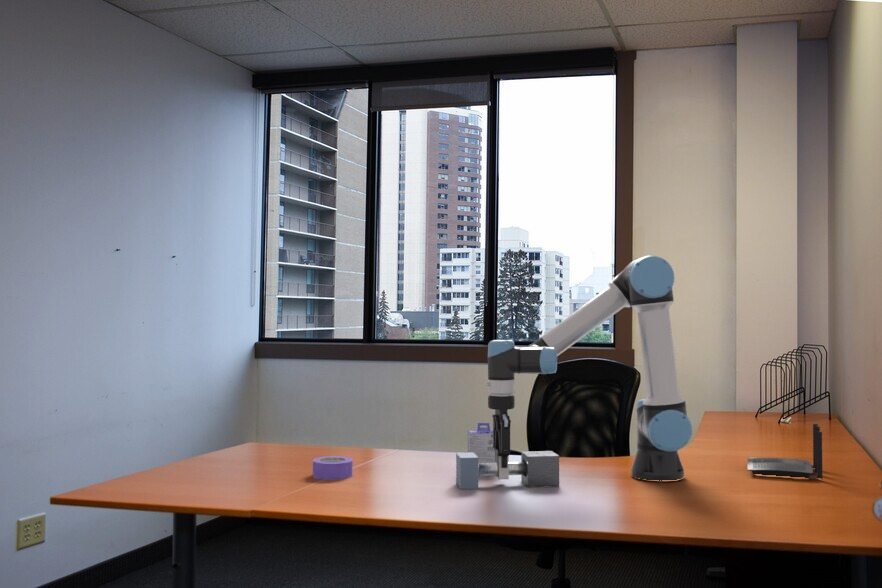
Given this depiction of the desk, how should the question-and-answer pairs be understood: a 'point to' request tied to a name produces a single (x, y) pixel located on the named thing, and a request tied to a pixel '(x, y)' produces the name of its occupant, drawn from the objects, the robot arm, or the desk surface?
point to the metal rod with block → (493, 468)
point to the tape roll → (332, 468)
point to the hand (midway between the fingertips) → (501, 476)
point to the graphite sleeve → (540, 468)
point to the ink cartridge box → (482, 444)
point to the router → (791, 462)
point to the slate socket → (467, 470)
